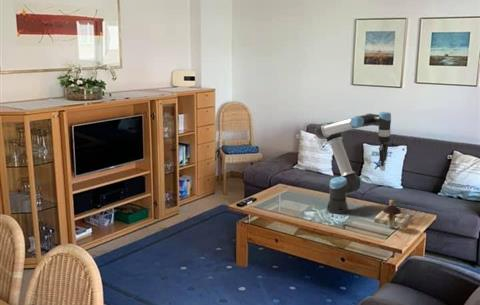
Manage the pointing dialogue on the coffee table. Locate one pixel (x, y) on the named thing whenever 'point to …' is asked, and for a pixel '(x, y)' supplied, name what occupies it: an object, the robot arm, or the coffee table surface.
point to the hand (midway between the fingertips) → (382, 170)
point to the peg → (392, 202)
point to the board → (384, 217)
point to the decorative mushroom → (392, 214)
